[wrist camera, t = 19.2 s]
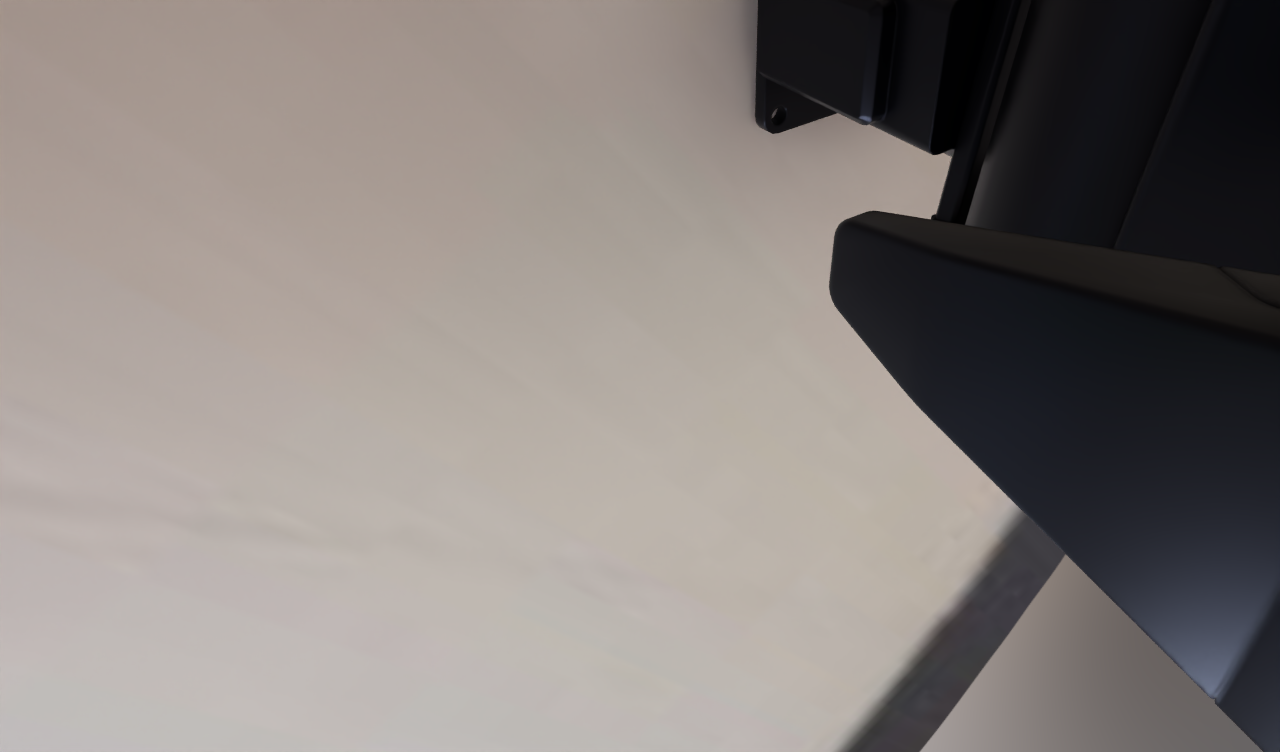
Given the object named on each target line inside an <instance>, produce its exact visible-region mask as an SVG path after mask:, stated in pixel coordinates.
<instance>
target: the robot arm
mask: <svg viewBox="0 0 1280 752" xmlns="http://www.w3.org/2000/svg"><path fill="white" fill-rule="evenodd" d="M776 108H777V112H776V114H775V116H774V117H773V118H772V114H773V112H774V111H775V109H776ZM836 113H839V114H841V115H843V116H845V117H847V118H849V119H851V120H854V121H856V122H858V123H860V124H862V125H869V124H870V125H872V126H874V127H876V128H878V129H880V130H882V131H884V132H886V133H888V134H891V135H893V136H895V137H897V138H899V139H901V140H903V141H905V142H907V143H909V144H911V145H913V146H915V147H918V148H920V149H922V150H924V151H926V152H928V153H930V154H932V155H938V154H941V153H945V154H947V155H949V156H951V157H952V159H951V163H950V166H949V170H948V174H947V177H946V181H945V184H944V188H943V192H942V195H941V199H940V203H939V206H938V210H937V213H936V214H935V215H932V217H931V220H930V219H924V218H918V217H912V216H905V215H899V214H893V213H887V212H880V211H869V212H865V213H862V214H860V215H857V216H854V217H852V218H849V219H846V220H844V221H843V222H842V223H840V224H839V226H838V228H837V230H836V231H835V236H834V244H833V253H832V263H831V272H830V281H829V290H830V295H831V298H832V301H833V303H834V305H835V307H836V308H837V310H838V311H839V312H840V313H841V314H842V316H843V317H844V318H845V319H846V321H847V322H848V323H849V324H850V325H851V327H852V328H853V329H854V330H855V332H856V333H857V334H858V335H859V336H860V338H861V339H862V340H863V341H864V343H865V344H866V345H867V346H868V347H869V349H870V350H871V351H872V352H873V354H874V355H875V356H876V357H877V358H878V360H879V361H880V362H881V363H882V364H883V366H884V367H885V368H886V369H887V371H888V372H889V373H890V374H891V375H892V377H893V378H894V379H895V380H896V382H897V383H898V384H899V385H900V386H901V388H902V389H903V390H904V391H905V392H906V393H907V395H908V396H909V397H910V398H911V399H912V400H913V402H914V403H915V404H916V405H917V406H918V407H919V408H920V409H921V410H922V411H923V412H924V413H925V414H926V415H927V416H928V417H929V418H930V419H931V420H932V421H933V422H934V423H935V424H936V425H937V426H938V427H939V428H940V429H941V430H942V431H943V432H944V433H945V434H946V435H947V436H948V437H949V438H950V439H951V440H952V441H953V442H954V443H955V444H956V445H957V446H958V447H959V448H960V449H961V450H962V451H963V452H964V453H965V454H966V455H967V456H968V457H969V458H970V459H971V460H972V461H973V462H974V463H975V464H976V465H977V466H978V467H979V468H980V469H981V470H982V471H983V472H984V473H985V474H986V475H987V476H988V477H989V478H990V479H991V480H992V481H993V482H994V483H995V484H996V485H997V486H998V487H999V488H1000V489H1001V490H1002V491H1003V492H1004V493H1005V494H1006V495H1007V496H1008V497H1009V498H1010V499H1011V500H1012V501H1013V502H1014V503H1015V504H1016V505H1017V506H1018V507H1019V508H1020V509H1021V510H1022V511H1023V512H1024V513H1025V514H1026V515H1027V516H1028V517H1029V518H1030V519H1031V520H1032V521H1033V522H1034V523H1035V524H1036V525H1037V526H1038V527H1039V528H1040V529H1041V530H1042V531H1043V532H1044V533H1045V534H1046V535H1047V536H1048V537H1049V538H1050V539H1051V540H1052V541H1053V542H1054V543H1055V544H1056V545H1057V546H1058V547H1059V548H1060V549H1061V550H1062V551H1063V552H1064V553H1065V554H1066V555H1067V556H1068V557H1069V558H1070V559H1071V560H1072V561H1073V562H1074V563H1076V565H1077V566H1078V567H1079V568H1080V569H1081V570H1082V571H1083V572H1084V573H1085V574H1087V576H1088V577H1089V578H1090V579H1091V580H1092V581H1093V582H1094V583H1095V584H1096V585H1097V586H1098V587H1099V588H1101V590H1102V591H1104V593H1106V595H1107V596H1109V598H1110V599H1112V601H1113V602H1114V603H1116V605H1117V606H1119V607H1120V608H1121V609H1122V610H1123V611H1124V612H1125V613H1126V614H1127V615H1128V616H1129V617H1130V618H1131V619H1132V620H1133V621H1134V622H1135V623H1136V624H1137V625H1138V626H1139V627H1140V628H1141V629H1142V630H1143V631H1144V632H1145V633H1146V634H1147V635H1148V636H1149V637H1150V638H1151V639H1152V640H1153V641H1154V642H1155V643H1156V644H1157V645H1158V646H1159V647H1160V648H1161V649H1162V650H1163V651H1164V652H1165V653H1166V654H1167V655H1168V656H1169V657H1170V658H1171V659H1172V660H1173V661H1174V662H1175V663H1176V664H1177V665H1178V666H1179V667H1180V668H1181V669H1182V670H1183V671H1184V672H1185V673H1186V674H1187V675H1188V676H1189V677H1190V678H1191V679H1192V680H1193V681H1194V682H1195V683H1196V684H1197V685H1198V686H1199V687H1200V688H1201V689H1202V690H1203V691H1204V692H1205V693H1206V694H1207V695H1208V696H1209V697H1210V698H1212V699H1215V704H1216V705H1217V706H1218V707H1219V708H1220V709H1221V710H1222V711H1223V712H1224V713H1225V714H1226V715H1227V716H1228V717H1229V718H1230V719H1231V720H1232V721H1233V722H1234V723H1235V724H1236V725H1237V726H1238V727H1239V728H1240V729H1241V730H1242V731H1243V732H1244V733H1245V734H1246V735H1247V736H1248V737H1249V738H1250V739H1251V740H1252V741H1253V742H1254V743H1255V744H1256V745H1257V746H1258V747H1259V748H1260V749H1261V750H1262V751H1263V752H1280V0H758V25H757V62H756V104H755V118H756V123H757V124H758V126H759V127H761V128H763V129H764V130H766V131H768V132H770V133H772V134H775V133H780V132H783V131H786V130H789V129H792V128H795V127H798V126H801V125H804V124H807V123H810V122H813V121H815V120H818V119H821V118H824V117H827V116H830V115H833V114H836ZM771 118H772V119H771Z"/></svg>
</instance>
